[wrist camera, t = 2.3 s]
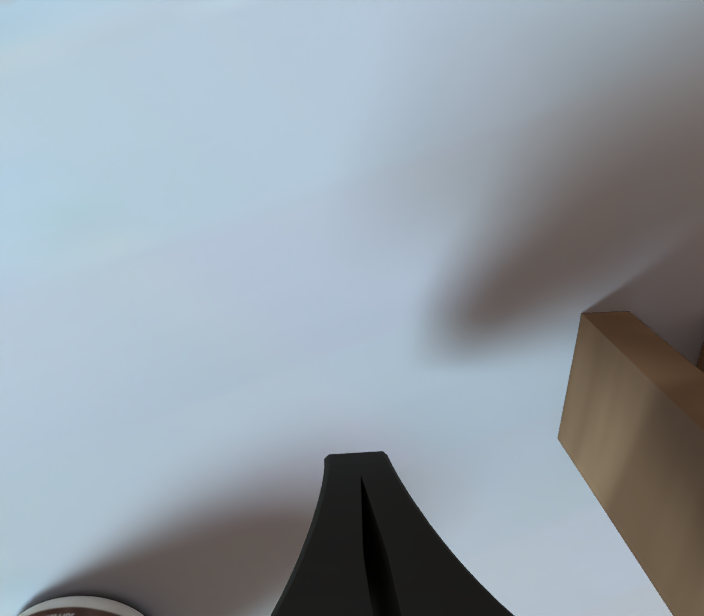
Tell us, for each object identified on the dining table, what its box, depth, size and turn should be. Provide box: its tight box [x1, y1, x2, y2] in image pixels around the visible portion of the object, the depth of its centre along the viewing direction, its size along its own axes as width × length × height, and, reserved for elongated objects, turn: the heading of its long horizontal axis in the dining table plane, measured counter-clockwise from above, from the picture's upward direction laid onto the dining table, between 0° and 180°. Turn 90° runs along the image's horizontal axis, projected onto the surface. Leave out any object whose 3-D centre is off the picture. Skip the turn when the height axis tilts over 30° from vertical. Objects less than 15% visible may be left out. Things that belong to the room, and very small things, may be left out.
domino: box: [558, 311, 704, 616], centre depth 14 cm, size 1×4×7 cm, turn 0°
